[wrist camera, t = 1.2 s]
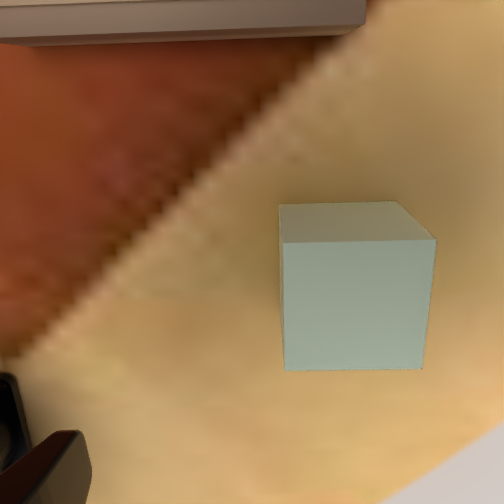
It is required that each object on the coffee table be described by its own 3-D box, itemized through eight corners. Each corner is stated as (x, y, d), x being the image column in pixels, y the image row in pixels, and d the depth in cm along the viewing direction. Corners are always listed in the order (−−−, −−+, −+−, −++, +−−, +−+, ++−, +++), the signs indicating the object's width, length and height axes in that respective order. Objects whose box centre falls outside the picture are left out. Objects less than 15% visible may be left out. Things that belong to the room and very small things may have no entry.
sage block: (387, 305, 22) (421, 369, 17) (280, 307, 22) (284, 371, 17) (396, 200, 20) (437, 239, 15) (278, 203, 20) (283, 243, 15)
